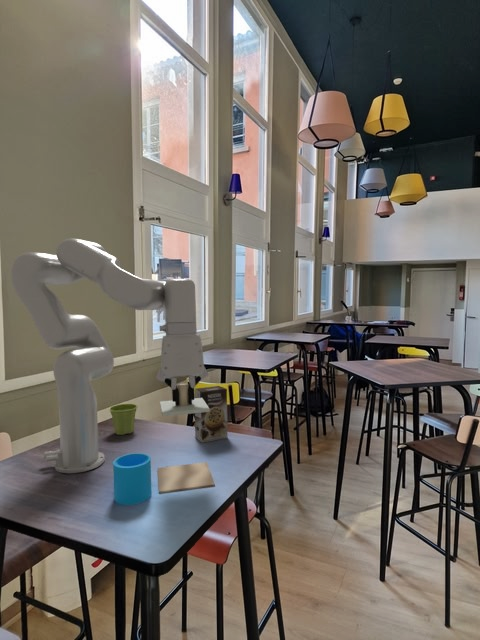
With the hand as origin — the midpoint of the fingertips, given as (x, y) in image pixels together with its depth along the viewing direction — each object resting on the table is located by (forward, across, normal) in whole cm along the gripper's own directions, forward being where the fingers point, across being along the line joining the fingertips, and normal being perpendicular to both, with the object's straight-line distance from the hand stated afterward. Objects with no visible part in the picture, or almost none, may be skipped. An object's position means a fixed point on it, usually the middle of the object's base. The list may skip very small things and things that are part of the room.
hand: (183, 403), depth 93 cm
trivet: (+19, 0, 0) cm, 19 cm away
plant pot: (+19, -17, +40) cm, 48 cm away
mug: (+19, -13, -4) cm, 23 cm away
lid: (+1, 0, 0) cm, 1 cm away
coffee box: (+19, +11, +26) cm, 34 cm away
